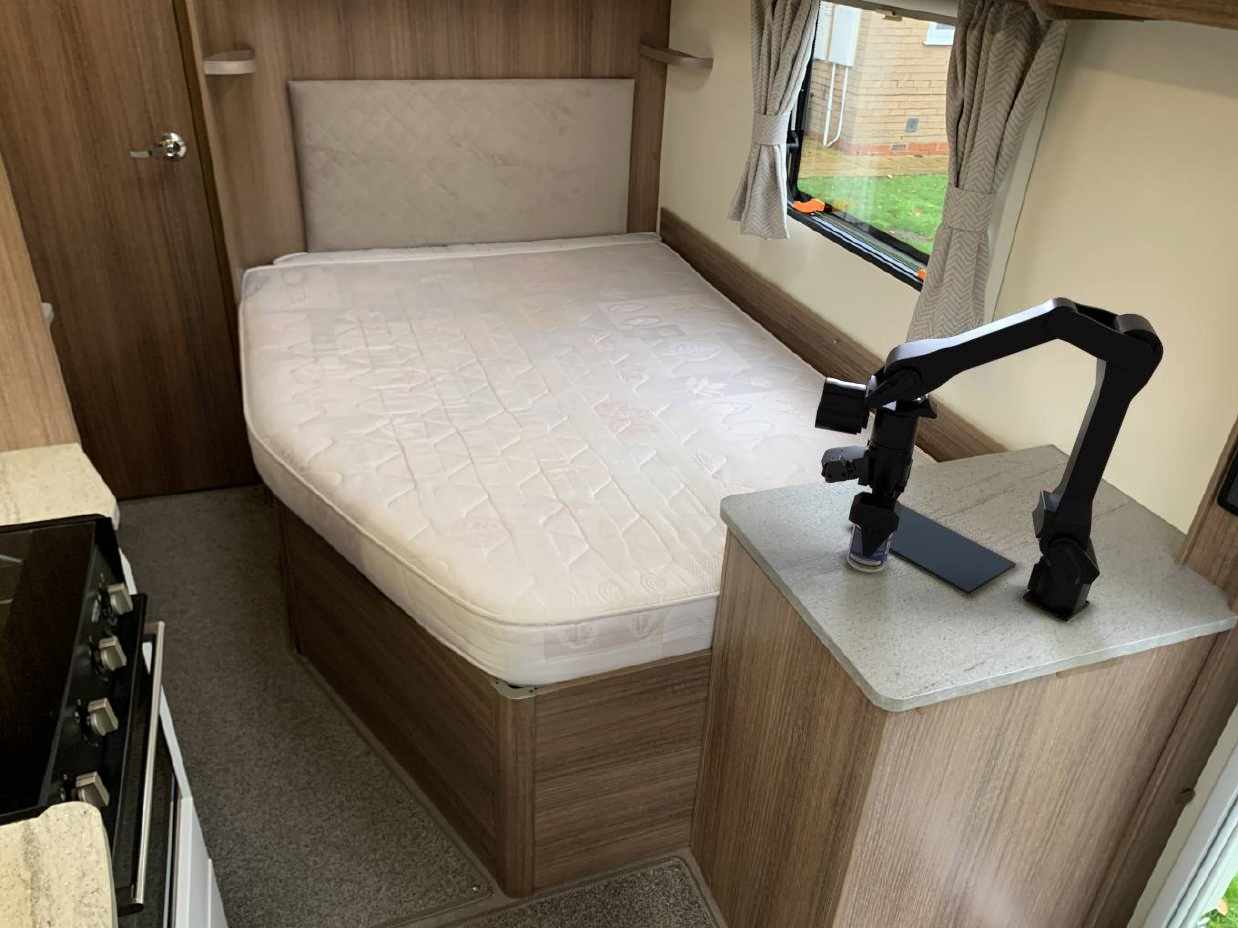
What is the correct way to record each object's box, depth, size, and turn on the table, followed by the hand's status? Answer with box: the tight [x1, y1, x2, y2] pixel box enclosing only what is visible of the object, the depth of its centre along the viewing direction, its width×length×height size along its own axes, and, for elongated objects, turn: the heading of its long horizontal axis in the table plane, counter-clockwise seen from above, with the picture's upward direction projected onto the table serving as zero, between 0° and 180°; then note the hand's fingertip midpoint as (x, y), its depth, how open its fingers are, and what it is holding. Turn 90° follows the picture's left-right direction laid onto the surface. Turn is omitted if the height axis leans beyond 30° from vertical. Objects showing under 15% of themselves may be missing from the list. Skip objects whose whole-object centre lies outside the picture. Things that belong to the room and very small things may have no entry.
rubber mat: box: [851, 503, 1017, 595], centre depth 139 cm, size 20×12×1 cm, turn 39°
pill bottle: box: [846, 523, 893, 573], centre depth 132 cm, size 5×5×10 cm
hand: (871, 539), depth 133 cm, fingers open, 9 cm apart
